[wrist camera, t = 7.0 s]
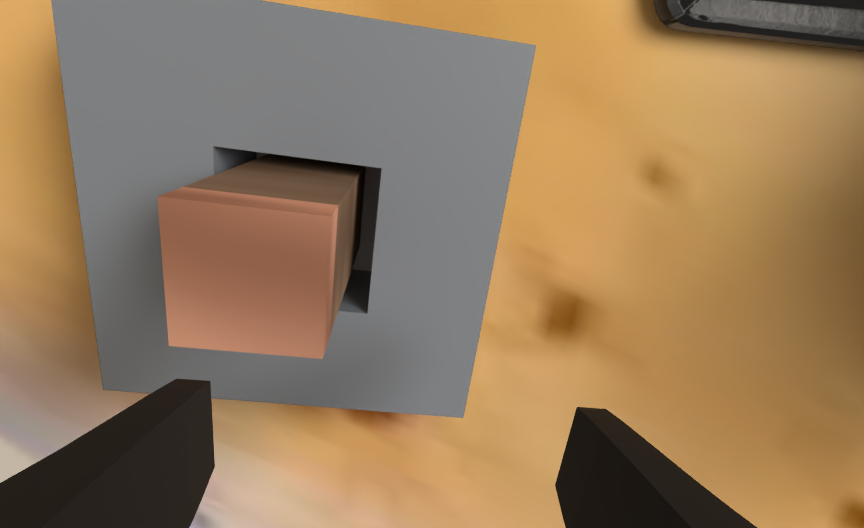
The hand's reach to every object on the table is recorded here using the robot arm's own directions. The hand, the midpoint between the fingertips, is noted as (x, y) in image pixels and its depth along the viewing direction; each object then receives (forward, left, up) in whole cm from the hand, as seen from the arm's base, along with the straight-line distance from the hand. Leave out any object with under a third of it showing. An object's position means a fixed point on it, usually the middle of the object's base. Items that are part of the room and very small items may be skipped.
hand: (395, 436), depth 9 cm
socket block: (+2, +3, -10) cm, 10 cm away
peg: (+2, +3, -9) cm, 10 cm away
